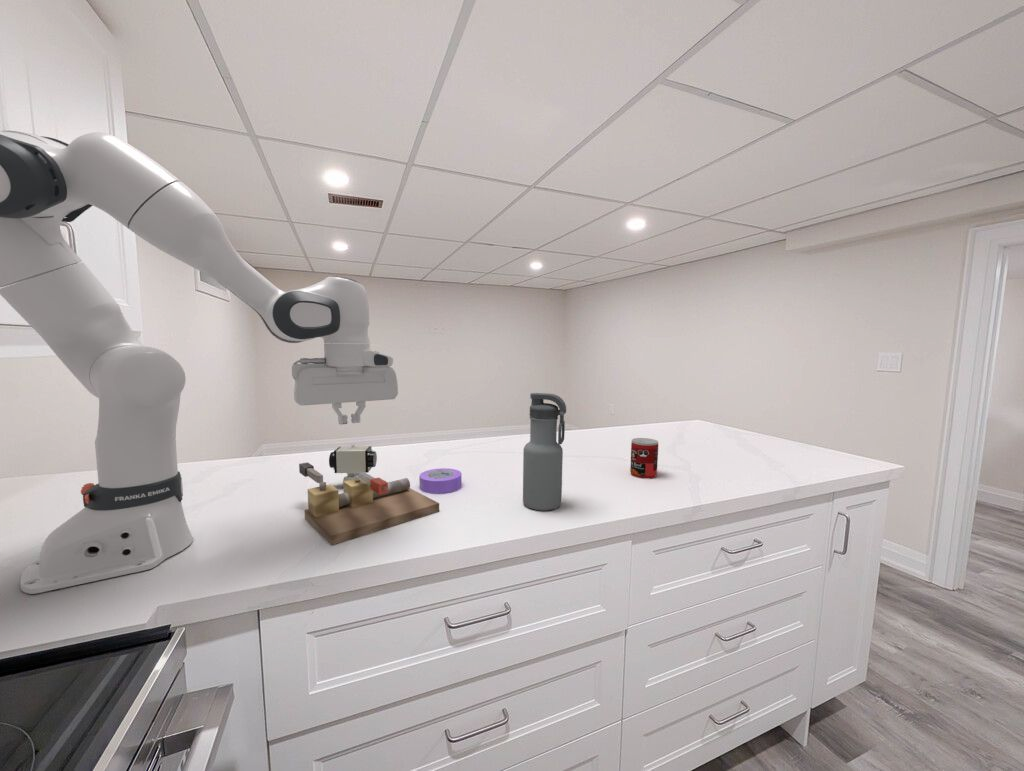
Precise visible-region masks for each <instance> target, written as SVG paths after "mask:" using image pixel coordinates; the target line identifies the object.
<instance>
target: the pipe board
mask: <svg viewBox="0 0 1024 771" xmlns="http://www.w3.org/2000/svg"><path fill="white" fill-rule="evenodd" d="M298 464H299V466H298V467H299V474H300V475H302V476H303V477H305V478H307V477H309V478H310V479H311V480H312V481H314V482H315V483H317V484H318V486H317V487H312V488H308V489H307V505H308V506H307V507H308V508H306V509H304V519H305V520H306V521H307V522H308V523H309V524H310V525H311V526H312V527H313V528H314V529H315V530H316V531H317V532H318V533H319V534H320V535H321V536H323V538H324V539H326V541H327V542H328V543H329V544H330V545H331V546H334V545H337V544H340V543H343V542H346V541H347V542H348V541H350V540H353V539H356V538H359V537H363V536H366V535H369V534H372V533H375V532H379V531H382V530H385V529H389V528H391V527H394V526H397V525H400V524H404V523H407V522H410V521H414V520H416V519H419V518H423V517H425V516H429V515H432V514H436V513H438V512H440V502H438V501H435V500H433V499H432V498H430V497H428V496H426V495H424V494H422V493H420V492H418V491H417V490H415V489H413V488H411V484H410V483H411V482H410V479H409V478H407V477H405V478H401V479H397V480H393V481H387V482H388V492H387V493H383V494H378V493H376V492H374V491H373V490H371V489H370V486H369V485H367V484H366V483H364V482H362V481H358V482H356V481H355V479H352V480H348V481H343V480H342V484H343V485H342V486H343V492H341V493H339V489H338V488H337V487H335V486H334V485H332V484H331V483H330V484H327V482H326V481H324V475H323V474H322V473H320V472H319V471H317V470H315V468H314V465H312V464H311V463H309V462H301V463H298Z"/></svg>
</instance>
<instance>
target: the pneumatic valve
mask: <svg viewBox="0 0 1024 771" xmlns="http://www.w3.org/2000/svg"><path fill="white" fill-rule="evenodd" d="M372 448H373V446H372V445H371V446H370V445H369V446H364V445H363V446H360V445H359V446H356V444H355V443H354V444H351V445H350V446H338V447H337V448H336V449H334V450H333V451H331V452H330V454H329V457H328V465H329V468H330V469H333V470H334V474H346V476H344V477H343V478H342V479H343V480H342V482H343V481H348V480H352V479H355V475H358V472H362V471H363V472H365V473H367V474H369V472H371V469H373V468H375V467H376V465H377V460H378V458H377V456H378V455H377V454H378V453H377V452H376V451H375V450H373V449H372Z"/></svg>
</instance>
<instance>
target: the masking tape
mask: <svg viewBox="0 0 1024 771" xmlns="http://www.w3.org/2000/svg"><path fill="white" fill-rule="evenodd" d="M418 479H419V490H420V491H421V492H423V493H427V494H432V495H443V494H450V493H453V492H456V491H459V490H460V489H461V488H462V487H463V486H462V482H463V480H462V472H461V471H460V470H459V469H455V468H446V467H445V468H442V467H441V468H433V469H428V470H424V471H423V472H421V473H420V474H419V478H418Z"/></svg>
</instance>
